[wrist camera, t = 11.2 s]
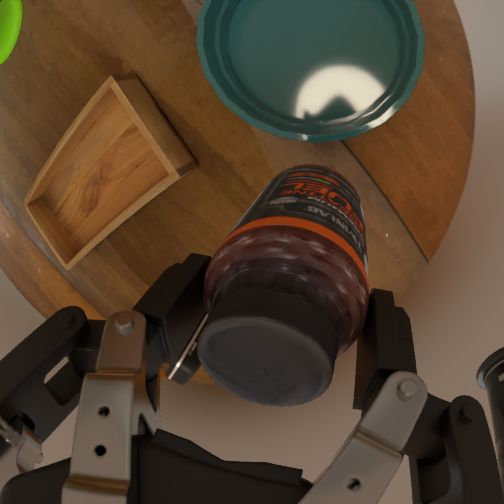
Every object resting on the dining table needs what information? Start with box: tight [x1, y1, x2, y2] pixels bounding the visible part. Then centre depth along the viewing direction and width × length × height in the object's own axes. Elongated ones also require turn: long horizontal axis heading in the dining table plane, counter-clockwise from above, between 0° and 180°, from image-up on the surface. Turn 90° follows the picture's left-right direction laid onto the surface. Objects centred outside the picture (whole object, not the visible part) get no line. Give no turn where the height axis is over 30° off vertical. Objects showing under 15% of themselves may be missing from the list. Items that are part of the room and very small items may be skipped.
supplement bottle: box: [197, 165, 369, 407], centre depth 13 cm, size 6×6×11 cm
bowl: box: [196, 0, 425, 143], centre depth 23 cm, size 20×20×6 cm
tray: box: [23, 74, 198, 271], centre depth 39 cm, size 31×15×6 cm, turn 124°
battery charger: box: [165, 312, 209, 385], centre depth 46 cm, size 7×4×11 cm, turn 152°
